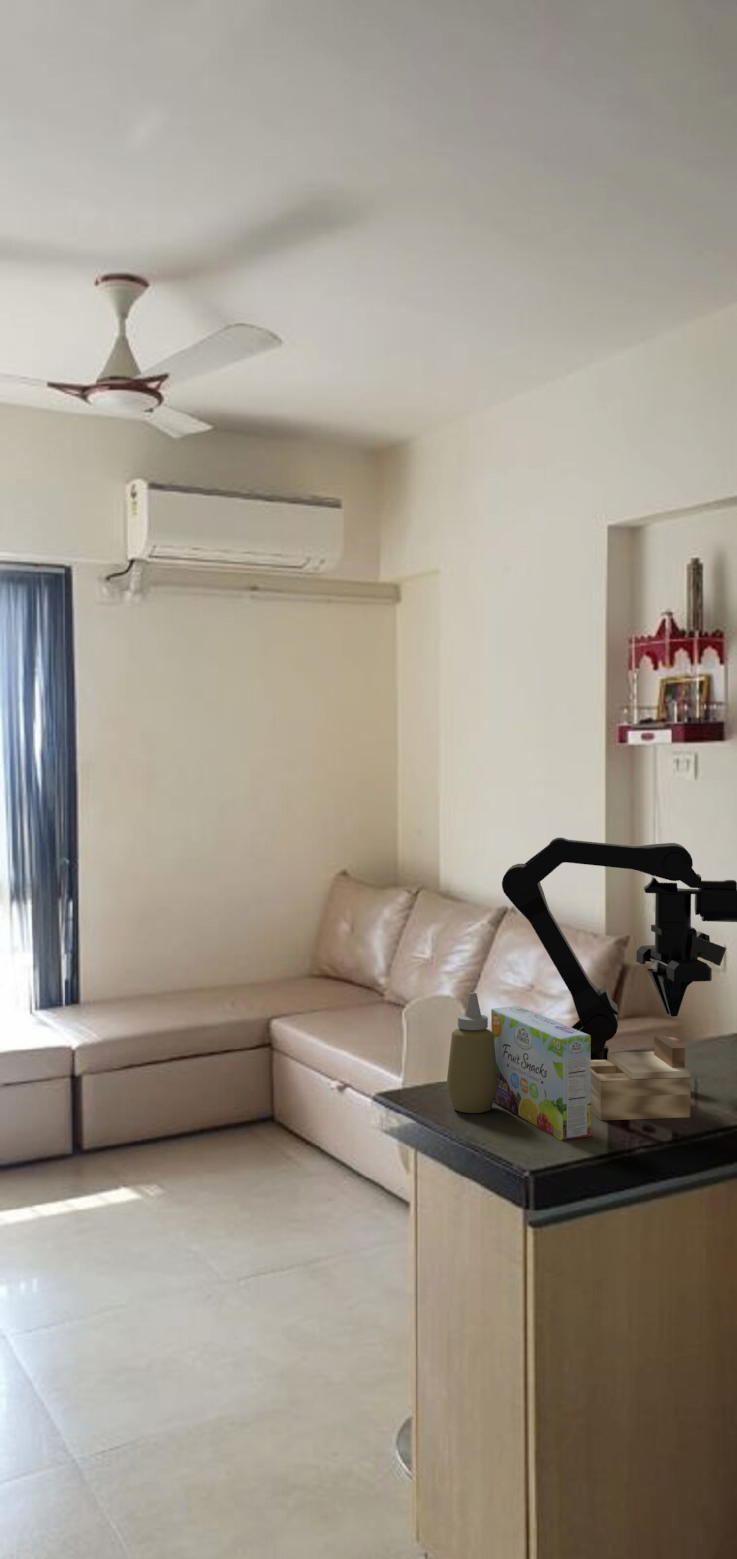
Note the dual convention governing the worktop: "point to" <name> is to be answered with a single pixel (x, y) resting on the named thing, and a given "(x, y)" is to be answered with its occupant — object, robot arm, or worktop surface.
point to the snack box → (543, 1071)
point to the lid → (653, 1061)
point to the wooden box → (636, 1095)
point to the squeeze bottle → (472, 1062)
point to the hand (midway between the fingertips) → (672, 1015)
